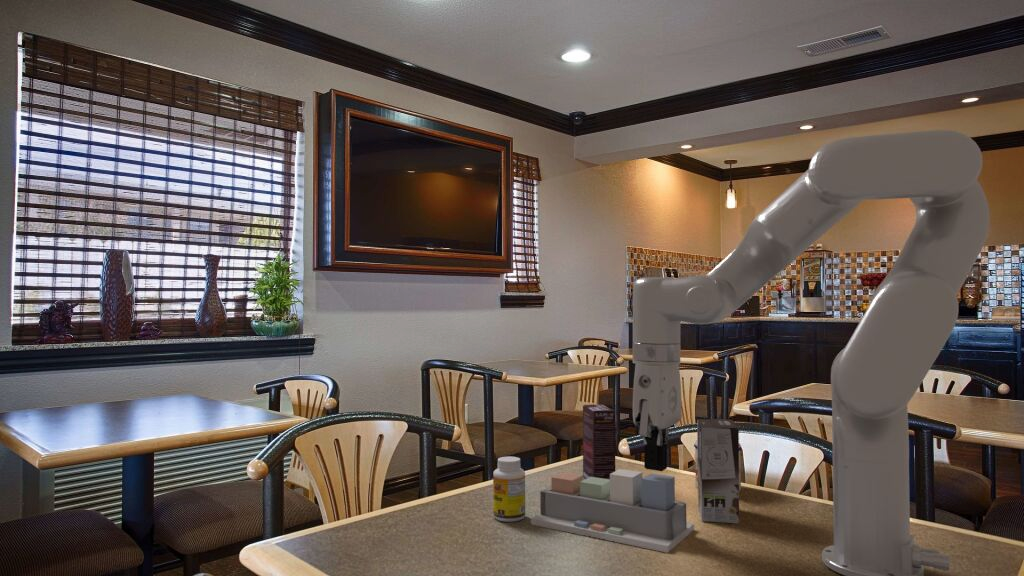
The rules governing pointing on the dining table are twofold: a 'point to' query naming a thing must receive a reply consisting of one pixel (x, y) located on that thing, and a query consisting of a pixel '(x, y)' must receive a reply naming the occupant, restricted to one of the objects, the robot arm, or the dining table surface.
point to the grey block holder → (614, 520)
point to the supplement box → (598, 441)
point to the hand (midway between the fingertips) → (655, 468)
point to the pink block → (566, 483)
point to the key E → (595, 488)
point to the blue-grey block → (658, 492)
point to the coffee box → (718, 470)
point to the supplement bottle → (509, 490)
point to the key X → (626, 487)
